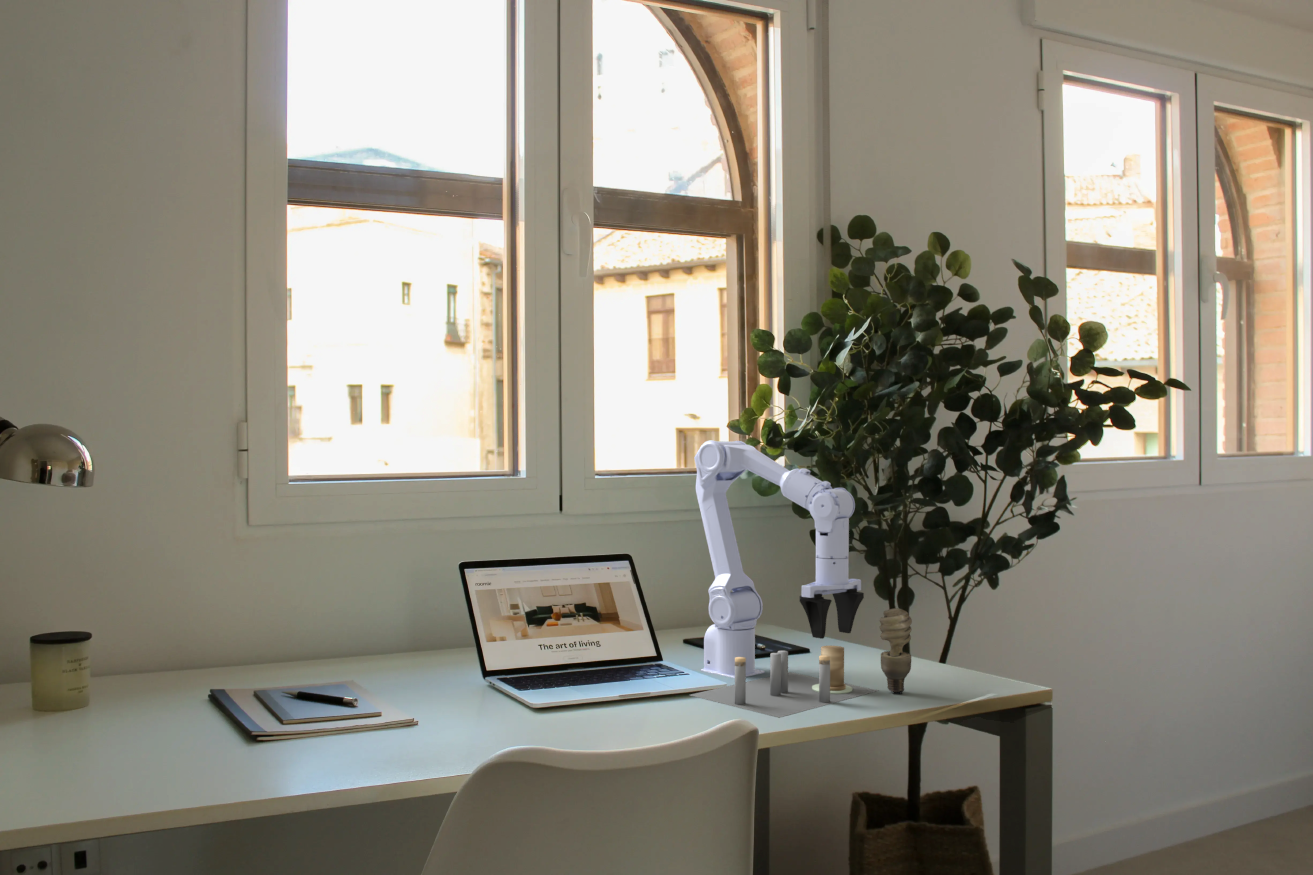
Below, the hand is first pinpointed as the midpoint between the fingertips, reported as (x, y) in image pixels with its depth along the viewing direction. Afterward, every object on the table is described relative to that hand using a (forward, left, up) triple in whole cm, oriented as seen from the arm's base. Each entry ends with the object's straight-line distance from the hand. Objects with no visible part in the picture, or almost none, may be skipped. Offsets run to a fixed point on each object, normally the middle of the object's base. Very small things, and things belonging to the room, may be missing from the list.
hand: (831, 634), depth 181 cm
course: (-4, -8, -10) cm, 13 cm away
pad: (0, 0, -10) cm, 10 cm away
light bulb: (+9, +6, -10) cm, 15 cm away
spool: (0, 0, -9) cm, 9 cm away
